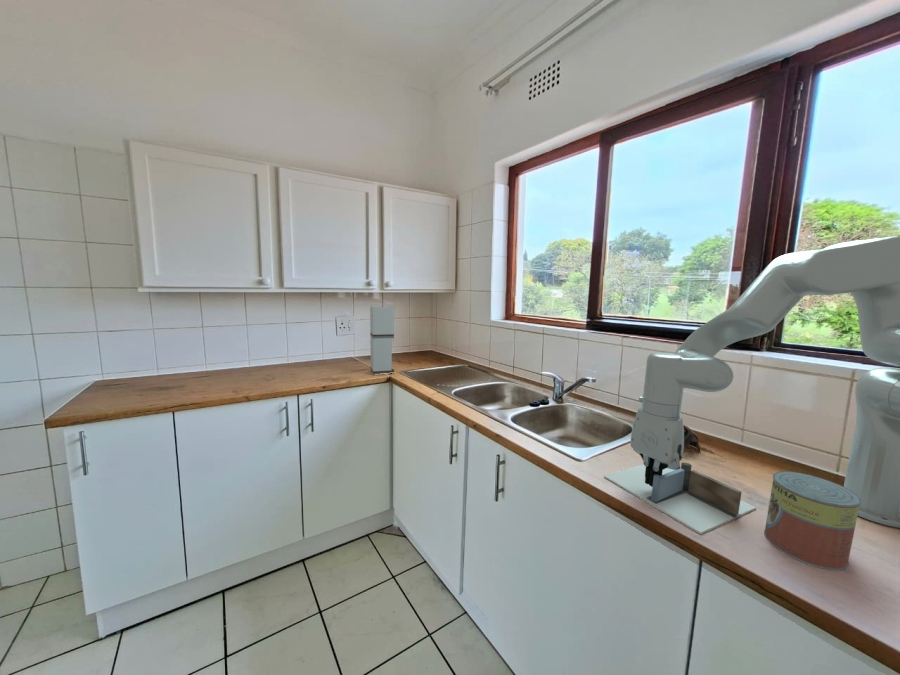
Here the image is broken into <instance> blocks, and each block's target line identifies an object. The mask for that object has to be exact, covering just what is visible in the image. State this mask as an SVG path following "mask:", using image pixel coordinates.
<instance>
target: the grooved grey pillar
mask: <svg viewBox="0 0 900 675" xmlns="http://www.w3.org/2000/svg"><path fill="white" fill-rule="evenodd" d="M369 311H370V313H369V314H370V316H369V319H370V321H369V323H370V324H369V325H370V328H369V329H370V333H369V334H370V335H369V336H370V372H371V371H372V372H371V374H372V373H373V374H380V373H390V372H394V373H395V370H394V369H393V365H392V364H393V363H392V362H393V361H392V360H393V359H392V358H393V353H392V352H393V349H392V346H393V345H392V344H393V343H392V342H393V341H395V307H393V306H391V305H388V306H387V307H386V306H385V307H384V306H383V307H382V306H381V307H379V306H373V305H370V308H369ZM373 374H372V375H373Z"/></svg>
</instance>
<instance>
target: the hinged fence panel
mask: <svg viewBox="0 0 900 675" xmlns="http://www.w3.org/2000/svg"><path fill="white" fill-rule="evenodd" d="M684 474H685V470H684V469H682V468H681V467H680V469H677V470H674V471H671V472H669V473H666V474H664V475H661V476H659V475H654V478H653V487H652V496H651V500H652V501H654V502H658V501H659V500H661V499H663V498H666V497H668V496H670V495H672V494H675V493H677V492H679V491H682V490H683V482H684Z"/></svg>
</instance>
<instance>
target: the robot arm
mask: <svg viewBox="0 0 900 675" xmlns="http://www.w3.org/2000/svg"><path fill="white" fill-rule="evenodd" d="M847 293H848V294H849V293H850V294H851V296H852V297H853V300H854V301H855V304H856V310H857V315H858V326H859V336H860V343H861V344H860V345H861V348H862V351H863V353H864V355H865V356H866V357H868V358H869V359H870V360H872V361H874V362H878V363H882V364H886V365H890V366H895V367H878V368H877V367H876V368H873V369H869V370H867V371H866V372H864V373H863V374H861V375H860V377H858V379H857V382H856V385H855V388H854V389H855V391H854V392H855V402H856V403H855V404H856V417H855V418H856V420H855V425H854V433H853V436H852V441H851V446H850V452H849V458H848V461H847V462H848V463H847V468H846V474H845V478H844V483H843V487H845V488H847V489H849V490H850V491H852V492H853V493H855V494H856V495H857V496H858V497H859V498H860V499H861V504H860V506H859V511H858V516H857V517H860V518H862V519H865V520H868V521H871V522H874V523H877V524H881V525H883V526H888V527H893V528H898V529H900V368H899V367H900V235H895V236H888V237H887V236H886V237H879V238H878V237H877V238H871V239H869V238H868V239H860V240H858V239H857V240H852V241H846V242H840V243H835V244H832V245H828V246H827V247H825V248H823V249H815V250H806V251H796V252H795V251H794V252H790V253H786V254H783V255H780V256H778V257H776V258H774V259H773V260H772V261H771V262H770V263H769V264H767V266H766V267H765V268H764V269H763V270H762V271H761V272H760V274H759V275H758V276H757V277H756V278H755V279H754V280H753V281H752V283H750V285H749V286H748V287H747V288H746V289H745V291H743V293H742V294H740V296H739V297H738V298H737V299H736V300H735V301H734V302H733V304H732V305H731V306H729V308H728V309H726V310H725V311H723V312H721V313H719V314H717V315H716V316H715V317H713V318H711V319H710V320H709V321H707V322H706V323H704V324H702V325H701V326H699V327H697V329H695V330H694V331H693V332H692V333H691V334H690V335H689V336H687V338H686V339H685V340H684V341H683V342H682V343H681V345H680V346H679V347H678V348H677V349H676V350H675V352H674V353H672V352H659V351H657V352H652V353H650V354H649V355H648V356H647V359H646V366H645V377H644V385H643V386H644V387H643V394H642V395H643V396H639V397H638V402H639V403H641V407H638V410H637V411H636V414H635V417H634V419H633V420H634V421H633V424H632V428H631V433H630V434H631V435H630V442H629V444H630V447H631V448H632V450H633V451H634V452H635V453H636V454H638V455H640V457H641V459H642V461H643V464H644V466H646V470H645V483H646V484H649V486H651V487H653V478H654V475H659V476H661V475H662V471H663V469H666V468H669V469H673V470H677V469H680V468H681V461H682V460H683V456H684V449H685V447H684V432H685V430H684V426H683V425H684V421H683V417H681V411H682V404H683V396H684V395H683V394H684V390H685V389H689V390H694V391H695V390H696V391H700V392H706V393H716V392H721V391H724V390H725V389H728V387H730V385H731V384H732V383H733V381H734V380H733V379H734V372H733V369H732V367H731V366H730V365H729V364H728V363H727V362H725V361H724V360H722V359H720V358H718V357H715V356H716V355H717V354H718V353H719V352H721V350H723V349H725V348H726V347H727V346H729V345H732V344H734V343H736V342H739V341H743V340H747V339H751V338H755V337H759V336H762V335H765V334H767V333H769V332H771V331H773V330H774V329H775V328H776V327H777V326H778V324H779V323H780V322H781V321H782V320H784V318H785V317H786V316H787V315H788V314H789V313H790V312H791V310H793V309H794V307H795V306H796V305H797V304H798V303H799V302H800V301H801V300H802V299H803V298H804V297H805V296H808V295H809V296H813V295H814V296H830V295H840V294H847Z"/></svg>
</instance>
